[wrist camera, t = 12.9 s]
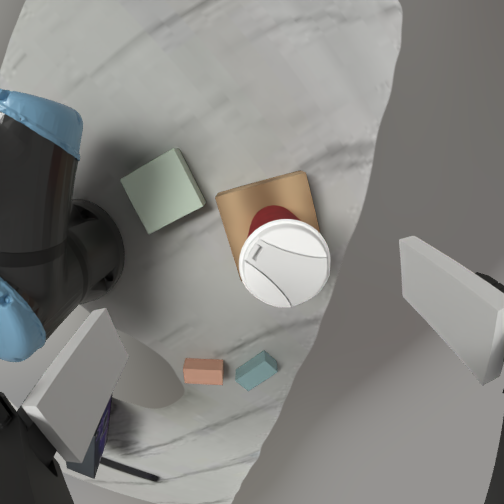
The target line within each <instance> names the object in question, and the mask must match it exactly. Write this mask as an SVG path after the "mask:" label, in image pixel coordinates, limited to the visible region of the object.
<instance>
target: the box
mask: <svg viewBox="0 0 504 504" xmlns="http://www.w3.org/2000/svg"><path fill="white" fill-rule="evenodd" d="M111 400H112V395H111V397H110V399H109V401H108V403H107V406H106V408H105V410H104V412H103V415H102V417H101V419H100V421H99V424H98V426H97V428H96V431H95V433H94V435H93V438H92V440H91V442H90V445H89V447H88V449H87V452H86V454H85V457H84V459H83V462H82V463H76V462H67V461H66V465H67V468H68V469H71V470H73V471H75V472H78V473H81V474H83V475H86V476H88V477H91V478H95V476H96V472H97V469H98V466H99V463H100V460H101V457H102V454H103V451H104V448H105V445H106V442H107V436H108V426H109V417H110V409H111Z"/></svg>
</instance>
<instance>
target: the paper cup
mask: <svg viewBox="0 0 504 504" xmlns="http://www.w3.org/2000/svg"><path fill="white" fill-rule="evenodd" d="M330 262H331V259H330V252H329V248H328V246H327V243H326V241H325V240H324V238H323V237H322V235H321V234H320V233H319V232H318V231H317V230H316V229H315V228H313V227H312V226H310V225H308V224H306V223H305V222H302V221H301V220H300V219H299V218H298V217H296V216H295V215H294V214H293V213H292V212H291V211H289V210H288V209H286V208H284V207H282V206H277V205H271V206H267V207H264V208H262V209H261V210H259V211H258V212H257V213H256V214H255V216H254V217H253V219H252V222H251V225H250V228H249V233H248V237H247V240H246V241H245V243H244V245H243V247H242V250H241V253H240V257H239V271H240V276H241V279H242V281H243V283H244V285H245V287H246V288H247V289H248V291H249V292H250V293H251V294H252V295H253V296H255V297H256V298H257V299H259V300H261V301H263V302H264V303H266V304H269V305H271V306H275V307H282V308H283V307H293V306H296V305H298V304H301V303H303V302H306V301H307V300H309V299H311V298H313V297H314V296H316V295H317V294H318V293H319V292H320V291H321V290H322V288H323V287H324V285H325V284H326V282H327V280H328V278H329V275H330Z"/></svg>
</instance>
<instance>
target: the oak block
mask: <svg viewBox="0 0 504 504" xmlns="http://www.w3.org/2000/svg"><path fill="white" fill-rule="evenodd" d="M215 199H216V202H217V205H218V209H219V212H220V215H221V218H222V222H223V225H224V228H225V231H226V234H227V238H228V241H229V244H230V247H231V250H232V254H233V257H234V260H235V263H236V266H237V270H238V273H239V276H240V271H239V257H240V253H241V250H242V247H243V245H244V243H245V241H246V240H247V237H248V233H249V228H250V225H251V222H252V219H253V217H254V216H255V214H256V213H257V212H258V211H259V210H261V209H262V208H264V207H267V206H271V205H277V206H282V207H284V208H286V209H288V210H289V211H291V212H292V213H293V214H294V215H295V216H296V217H298V218H299V219H300V220H301V221H302V222H305V223H306V224H308V225H310V226H312V227H313V228H315V229H316V230H317V231H318V232H319V233H320V230H319V226H318V221H317V217H316V213H315V208H314V204H313V200H312V196H311V192H310V188H309V184H308V180H307V176H306V173H305V172H303V171H296V172H292V173H288V174H285V175H281V176H277V177H273V178H269V179H266V180H262V181H258V182H255V183H251V184H247V185H244V186H240V187H237V188H233V189H230V190H226V191H223V192H219V193H218V194H217V195H216V197H215ZM240 279H241V276H240ZM241 281H242V279H241Z"/></svg>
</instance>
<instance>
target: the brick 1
mask: <svg viewBox="0 0 504 504" xmlns="http://www.w3.org/2000/svg"><path fill="white" fill-rule="evenodd" d="M183 373H184V380H185V383H192V384H212V385H223V375H224V371H223V360H217V359H192V358H186V359H185V363H184V367H183Z"/></svg>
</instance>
